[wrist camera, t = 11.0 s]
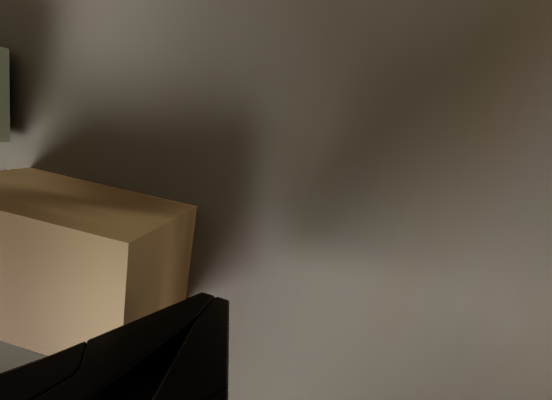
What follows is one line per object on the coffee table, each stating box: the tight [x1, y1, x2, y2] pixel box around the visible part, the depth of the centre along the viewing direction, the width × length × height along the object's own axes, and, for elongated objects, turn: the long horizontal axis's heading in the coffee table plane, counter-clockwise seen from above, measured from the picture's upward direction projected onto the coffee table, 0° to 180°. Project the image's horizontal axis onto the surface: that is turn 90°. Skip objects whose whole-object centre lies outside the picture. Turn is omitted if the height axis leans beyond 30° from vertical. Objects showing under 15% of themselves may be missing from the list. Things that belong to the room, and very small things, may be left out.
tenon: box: [0, 168, 197, 356], centre depth 10 cm, size 7×4×4 cm, turn 79°
